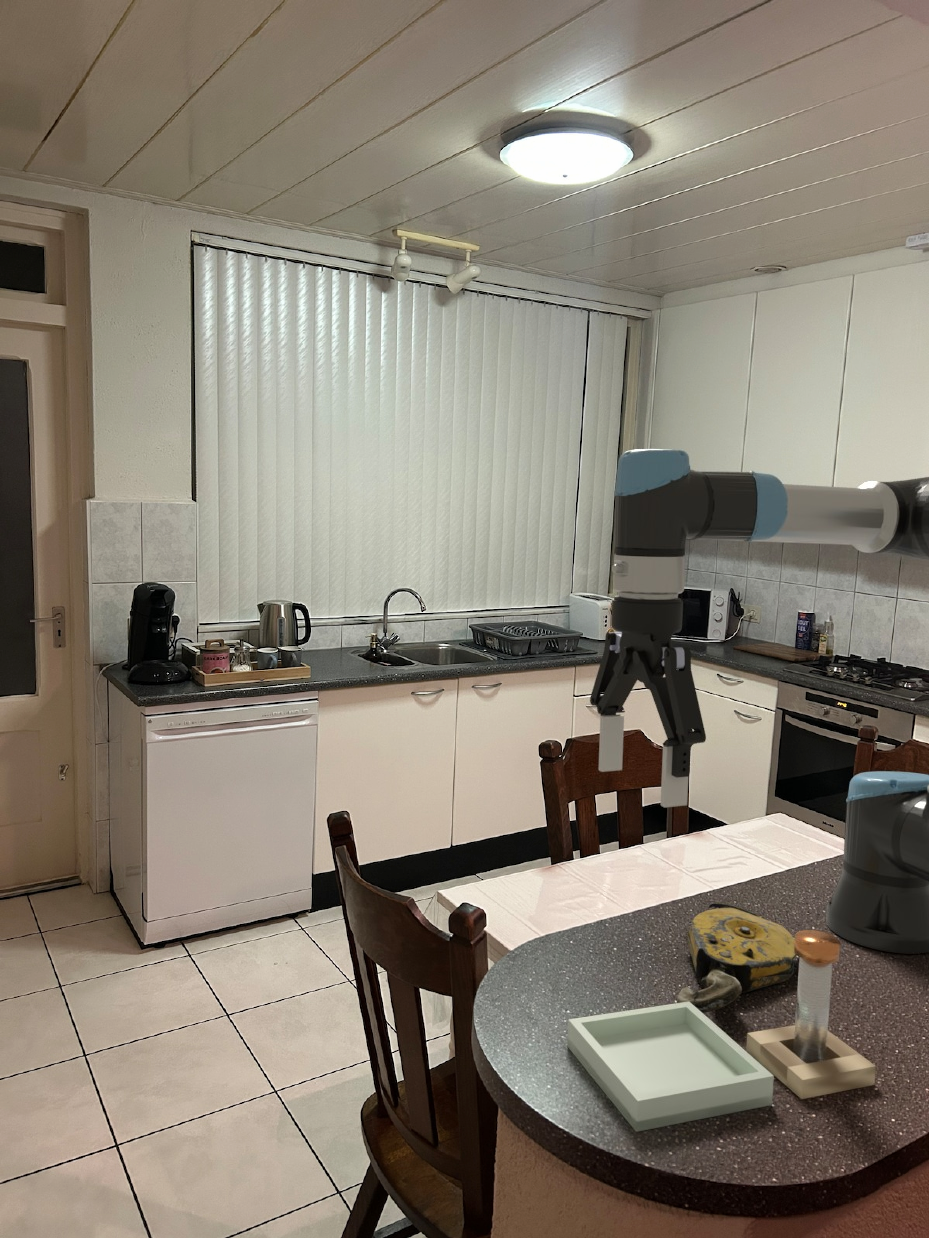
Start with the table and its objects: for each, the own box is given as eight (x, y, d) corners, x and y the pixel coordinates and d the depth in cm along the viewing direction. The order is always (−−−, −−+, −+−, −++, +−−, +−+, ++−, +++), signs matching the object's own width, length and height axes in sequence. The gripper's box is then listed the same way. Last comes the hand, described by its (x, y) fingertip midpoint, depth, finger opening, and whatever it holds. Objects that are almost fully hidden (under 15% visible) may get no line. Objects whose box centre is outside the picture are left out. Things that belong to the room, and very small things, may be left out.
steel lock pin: (811, 1052, 100) (820, 928, 99) (840, 1075, 96) (849, 945, 95) (777, 1058, 99) (786, 932, 97) (805, 1082, 94) (814, 950, 93)
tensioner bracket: (814, 1038, 103) (815, 1021, 103) (874, 1084, 94) (875, 1065, 94) (746, 1050, 100) (747, 1032, 100) (801, 1098, 92) (802, 1079, 91)
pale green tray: (687, 1026, 104) (689, 1001, 104) (771, 1104, 90) (773, 1075, 90) (567, 1045, 100) (568, 1019, 99) (636, 1131, 86) (637, 1100, 85)
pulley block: (640, 958, 107) (714, 881, 133) (631, 1003, 108) (706, 918, 134) (762, 1011, 100) (815, 919, 126) (750, 1059, 101) (805, 958, 127)
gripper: (565, 586, 110) (560, 760, 112) (681, 607, 87) (672, 826, 89) (621, 585, 112) (615, 755, 115) (748, 606, 89) (737, 819, 92)
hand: (640, 786), depth 102 cm, fingers open, 13 cm apart
